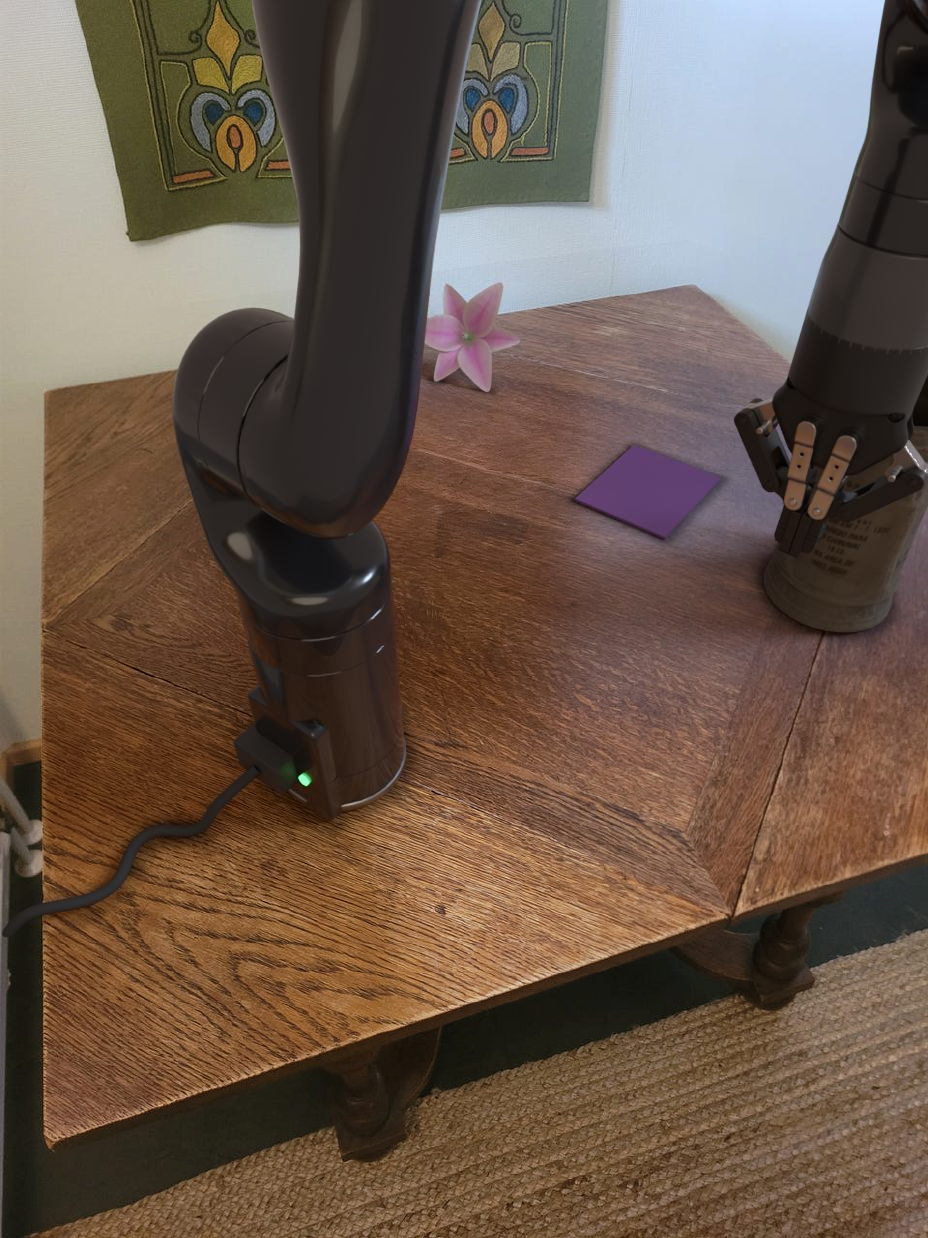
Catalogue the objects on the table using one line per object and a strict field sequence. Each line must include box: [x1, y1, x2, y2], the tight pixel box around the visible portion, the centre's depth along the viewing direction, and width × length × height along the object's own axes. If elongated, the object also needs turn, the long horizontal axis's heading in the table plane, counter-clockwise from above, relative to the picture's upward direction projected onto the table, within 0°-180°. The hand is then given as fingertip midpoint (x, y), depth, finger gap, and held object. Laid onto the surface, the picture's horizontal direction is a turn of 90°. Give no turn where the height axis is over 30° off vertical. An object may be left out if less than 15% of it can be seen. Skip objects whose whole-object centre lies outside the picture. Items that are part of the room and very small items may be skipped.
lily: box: [424, 282, 521, 393], centre depth 103 cm, size 12×12×10 cm
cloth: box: [574, 444, 721, 540], centre depth 88 cm, size 12×10×1 cm
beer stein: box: [762, 375, 928, 633], centre depth 72 cm, size 15×11×20 cm
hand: (793, 549), depth 62 cm, fingers closed
